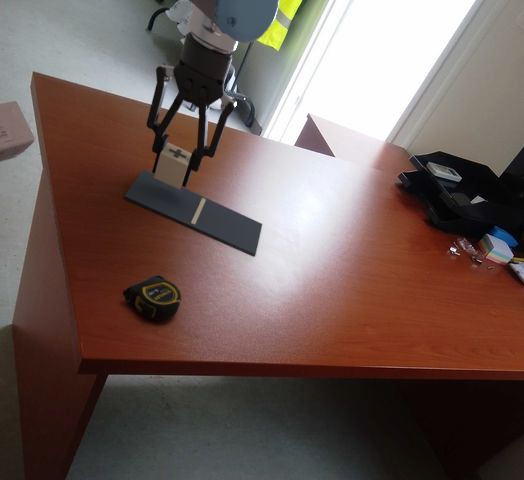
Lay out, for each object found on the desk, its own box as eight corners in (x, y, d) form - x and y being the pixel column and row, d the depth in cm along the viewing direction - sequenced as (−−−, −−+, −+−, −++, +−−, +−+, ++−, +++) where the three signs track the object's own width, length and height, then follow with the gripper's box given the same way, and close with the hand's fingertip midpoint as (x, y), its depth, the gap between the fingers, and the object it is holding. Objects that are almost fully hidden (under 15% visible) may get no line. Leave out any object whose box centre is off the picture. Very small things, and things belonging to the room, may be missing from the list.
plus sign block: (153, 177, 83) (160, 152, 79) (161, 166, 86) (168, 141, 83) (179, 189, 84) (187, 164, 80) (186, 178, 87) (193, 154, 84)
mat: (123, 198, 82) (124, 195, 82) (143, 171, 91) (143, 168, 90) (254, 256, 88) (255, 253, 87) (261, 226, 96) (262, 223, 96)
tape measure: (154, 286, 71) (160, 268, 68) (185, 314, 70) (192, 297, 67) (119, 301, 66) (125, 282, 63) (152, 332, 65) (159, 313, 62)
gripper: (147, 15, 65) (116, 163, 80) (262, 77, 69) (211, 206, 84) (161, 7, 70) (130, 147, 86) (267, 65, 74) (219, 189, 89)
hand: (170, 176), depth 85 cm, fingers closed on plus sign block, 5 cm apart
